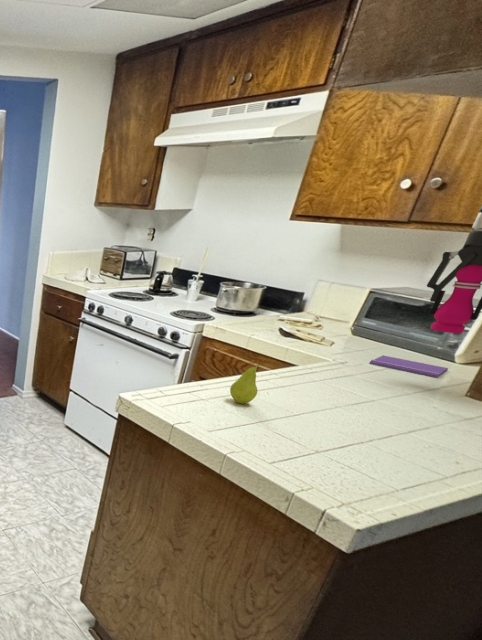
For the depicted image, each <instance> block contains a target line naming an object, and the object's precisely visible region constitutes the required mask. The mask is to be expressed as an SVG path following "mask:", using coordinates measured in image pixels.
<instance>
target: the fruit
mask: <svg viewBox="0 0 482 640" xmlns="http://www.w3.org/2000/svg"><path fill="white" fill-rule="evenodd" d="M262 364H264V361H261V362H259V363H258V364H256V365H255V366H251V367H249V368H247V369H246V370H245V371H244V372H243V373H242V374H241V375H240V377H239V378H238V379H237V380H236V381H235V382H233V383H232V384H231V386H230V388H229V390H230V391H229V392H230V393H229V394H230V395H231V397H232V399H233V401H234V402H236V403H237V404H243V405H244V404H248V403H250V402H252V401H253V400H254V399H255V398H256V397H257V395H258V387H257V383H256V380H257V379H256V378H257V369H258V367H259V366H261V365H262Z"/></svg>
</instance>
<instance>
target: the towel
mask: <svg viewBox="0 0 482 640" xmlns="http://www.w3.org/2000/svg"><path fill="white" fill-rule="evenodd" d="M368 363H369V364H370V365H373V366H374V365H375V366H379V367H383V368H387V369H388V368H389V369H393V370H398V371H403V372H407V373H412V374H416V373H417V375H422V376H427V377H431V378H436V379H437V378H438V377H439V376H441V375H443V374H445V373H446V372H448V369H449V368H448V367H443V366H440V365H434V364H429V363H424V362H419V361H413V360H409V359H402V358H399V357H394V356H389V355H384V354H383V355H380V356H379V357H376V358H375V359H371V360H370V361H369V362H368Z"/></svg>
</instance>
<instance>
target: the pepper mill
mask: <svg viewBox="0 0 482 640" xmlns="http://www.w3.org/2000/svg"><path fill="white" fill-rule="evenodd" d="M455 278H456V280H455V281H454V283H453V285H452V287H453V291H452V293H451V295H450V296H449V298H448V299H447V300H445V302H443V303H442V304H440V305H439V307H438V309H437V310H436V312H435V313H434V314H433V317H434V319H435V320H436V321H433V322H432V323H431V326H430V329H431V330H433V331H436V332H442V333H450V334H462V333H464V331H465V329H466V326H465V325H464V324H467V323H469V322H470V321H472V320H471V318H472V316H473V314H474V312H475V309H474V304H473V300H474V296H475V294H476V292H477V290H479V289H481V287H482V266H481V265H466V266H465V267H464V268H461V269H459V270H458V271H457V273H456V277H455Z"/></svg>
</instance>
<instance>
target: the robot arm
mask: <svg viewBox="0 0 482 640" xmlns="http://www.w3.org/2000/svg"><path fill="white" fill-rule="evenodd" d="M478 211H479V212H478V213H477V215H476V217H475V220H474V222H473V224H472V226H471V228H472V229H473V230H471V231H470V232H469V233H468V235H467V237H466V240H465V242H464V244H463V246H462V247H461V248H460V249H459V250H455V251H444V252H443V253H442V259H441V262H440V263H439V265H438V267H437V268H436V270H435V271H434V273H433V274H432V276H431V278H430V279H429V280H428V282H427V284H426V287H427V288H430V289H432V290H433V292H432V295H431V296H430V298H429V301H430V302H431V303H433V305H432V307H431V309H430V312H429V315H434V313H435V312H436V310H437V309H438V308H439V307H440V306H441V302H442V300H443V298H444V296H445V293H446V290H444V289H445V287H446V286H448V284H449V283H451V281H453V280H454V279H455V278H456V273H457V271H458V270H459V269H461V268H464V267H465V266H466V265H481V266H482V205H481V206H480V209H479V210H478ZM456 256H458V257H459V259H460V261H461V262H460V263H459V264H458V265H457V266H456V267H455V268H454V269H453V270H452V271H451V272H450V273H449V274H448V275H446V276H445V278H444V279H442V280H441V281H440V282H439V283H438V281H439V279H440V278H441V276H442V275H443V274H444V272H445V270H446V268H447V267H448V265H449V264H450V263H451V260H454V259H455V258H456ZM437 283H438V284H437ZM481 311H482V296H481V297H480V299H479V301H478V303H477V305H476V307H475V309H474V314H473V316H472V318H471V320H470V321H472V320H473V321H476V320H477V319H478V317H479V316H480V313H481Z"/></svg>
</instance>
